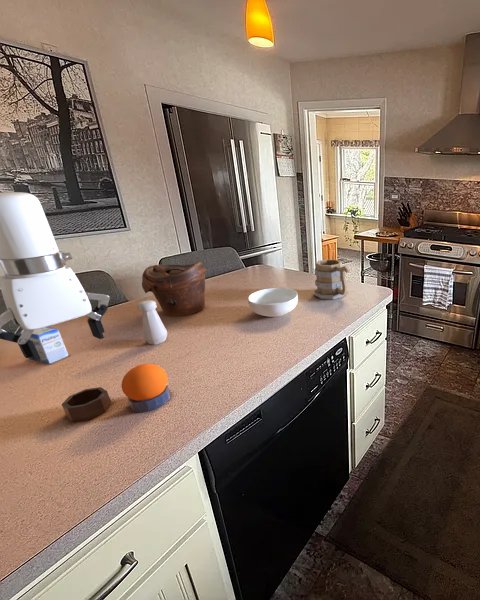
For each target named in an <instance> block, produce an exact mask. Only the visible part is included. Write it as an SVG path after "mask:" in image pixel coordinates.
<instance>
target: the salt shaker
mask: <svg viewBox="0 0 480 600" xmlns="http://www.w3.org/2000/svg"><path fill="white" fill-rule="evenodd" d="M157 307H158V305H157V303H156V301H155V300H152V299H150V300H149V299H147V300H143V301H140V302H139V303H138V304H137V308H138V311H139V312H141V313H142V315H141V316H142V334H143V335H142V336H143V339H144V340H145V342H147V343H148V344H149V345H154V346H155V345H160V344H163V343H164V342H165V341H166V340H167V338H168V337H167V336H168V331H167V329H166V327H165V325H164V323H163V321H162V319H161V317H160V316H159V314H158V312H157V310H156V309H157Z"/></svg>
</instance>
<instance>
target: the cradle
mask: <svg viewBox="0 0 480 600" xmlns="http://www.w3.org/2000/svg"><path fill="white" fill-rule="evenodd" d="M170 398H171V392H170V389H169V385H168V384H167V385H166V388H165V389H164V391H163V392H162V393H161V394H160V395H158V396H156V397H154V398H152V399H148V400H144V401H135V400H132V399H130V398H128V397H127V401H128V404H129V407H130V409H131V410H132V411H133V412H137V413H145V412H149V411H154V410H156V409H158V408H161V406H163V405H165V404H167V402H169V400H170Z"/></svg>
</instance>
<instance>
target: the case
mask: <svg viewBox="0 0 480 600" xmlns="http://www.w3.org/2000/svg"><path fill="white" fill-rule="evenodd" d="M206 272H207V269H206V268H205V265H204V264H203V262H202V261H198V262H196V263H191V264H186V265H184V264H154V265H150V266H148V267H146V268H145V269H144V271H143V272H142V279H141V288H142V290H143V292H144V293H145V294H148V293H149V292H151V293H152V294H153V296H154V297H155V299H156V301H157V303H158V304H159V306H160V308H161V309H162V311H163V313H164V314H165V315H167V316H174V317H178V316H187V315H192V314H195V313H198V312H200V311H202V310H203V309H204V308H205V306H206Z"/></svg>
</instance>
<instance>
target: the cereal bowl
mask: <svg viewBox="0 0 480 600" xmlns="http://www.w3.org/2000/svg"><path fill="white" fill-rule="evenodd" d="M247 300H248V301H247V302H248V305H249V307H250V309H251V310H252V312H254V313H255V314H257V315H259V316H263V317H268V318H277V317H278V318H279V317H282V316H284V315H286V314H288V313H290V312H291V311H293V310H294V309H295V308H296V307H297V305H298V302H299V296H298V292H297V291H296V290H295V289H292V288H289V287H270V288H264V289H260V290H257V291H254V292H253V293H250V295H249V296H248V297H247Z"/></svg>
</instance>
